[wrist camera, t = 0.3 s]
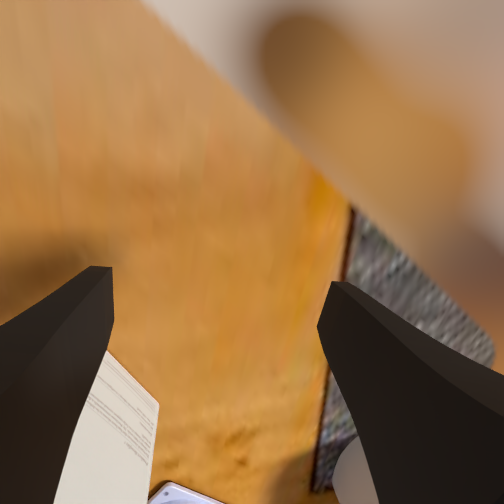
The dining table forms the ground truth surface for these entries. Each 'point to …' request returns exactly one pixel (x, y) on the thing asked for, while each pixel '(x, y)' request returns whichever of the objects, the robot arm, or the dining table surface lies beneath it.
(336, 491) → the lumpy-topped squat cylinder
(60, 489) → the supplement box
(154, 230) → the dining table surface
